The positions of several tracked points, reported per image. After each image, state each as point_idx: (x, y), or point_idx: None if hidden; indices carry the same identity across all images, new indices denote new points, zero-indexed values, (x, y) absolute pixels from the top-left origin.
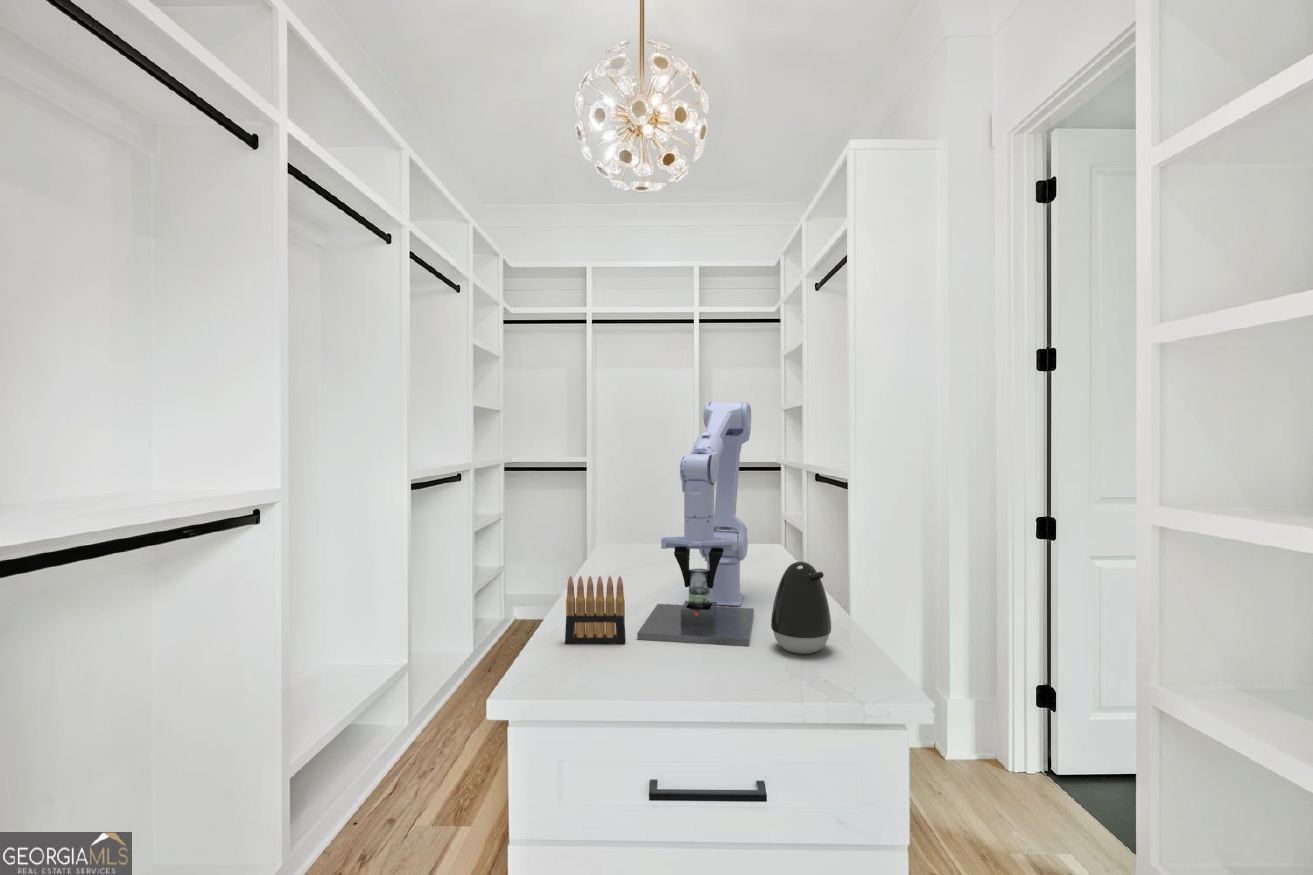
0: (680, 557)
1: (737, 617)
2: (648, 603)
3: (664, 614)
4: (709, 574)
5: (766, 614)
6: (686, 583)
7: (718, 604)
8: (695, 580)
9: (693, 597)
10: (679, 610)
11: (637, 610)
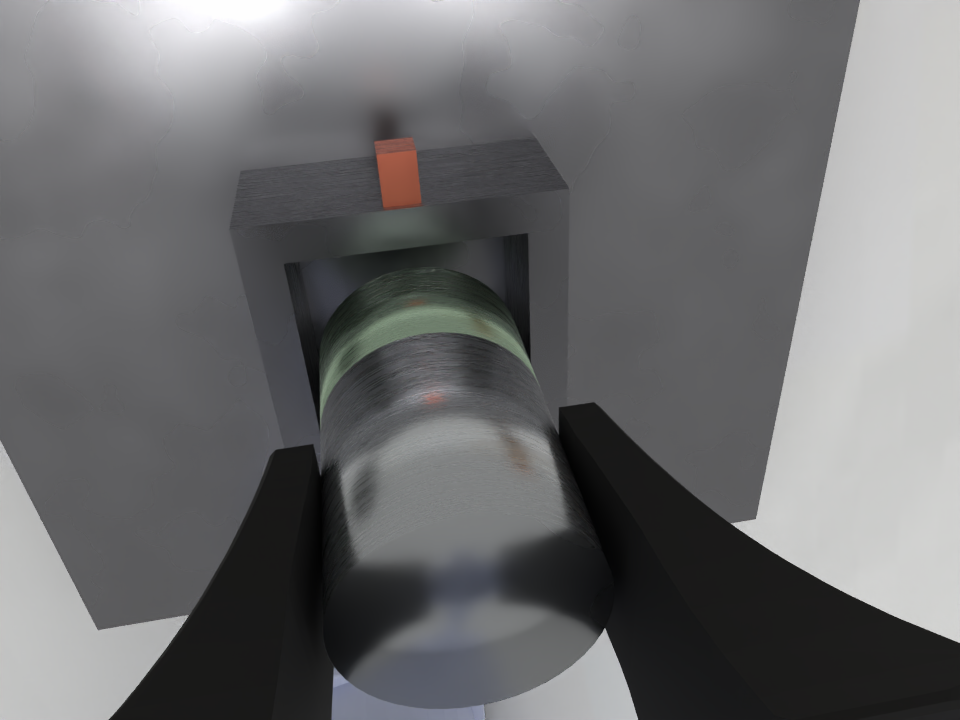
0: (847, 652)
1: (126, 427)
2: (798, 566)
3: (694, 327)
4: (291, 552)
5: (23, 619)
6: (591, 422)
7: None
8: (480, 437)
9: (471, 318)
10: None
11: (863, 440)
